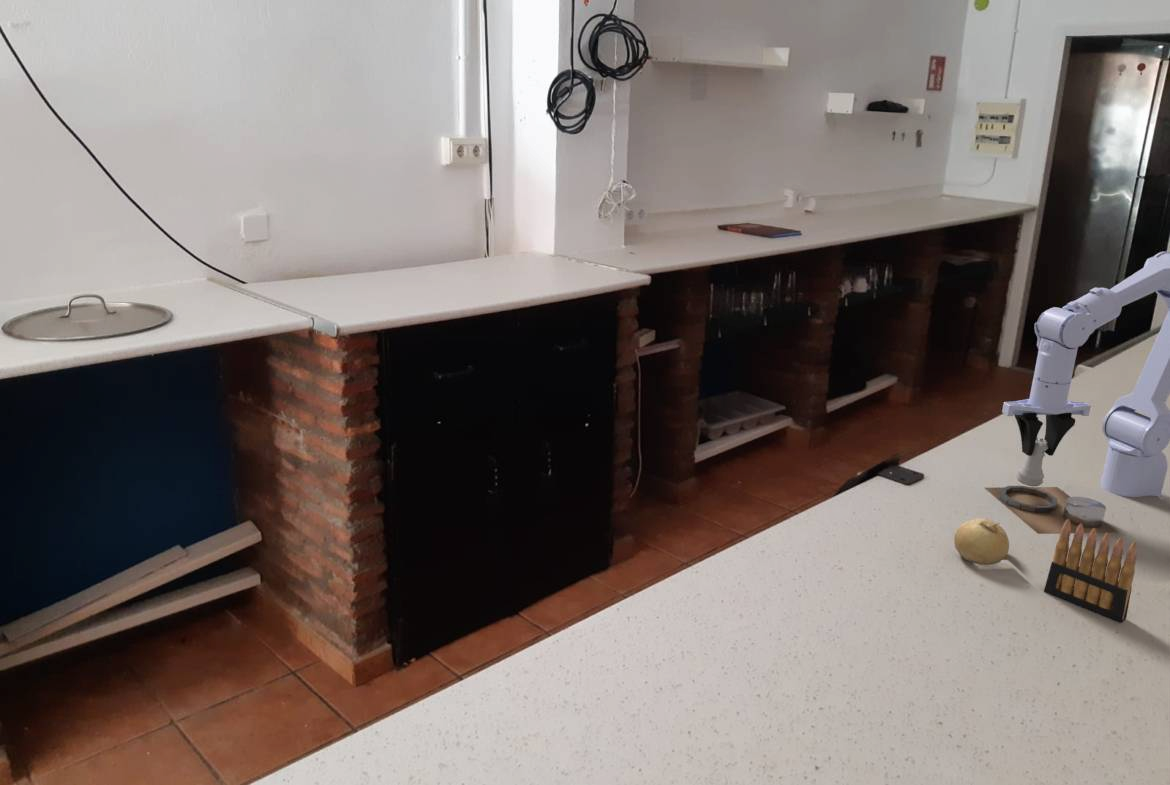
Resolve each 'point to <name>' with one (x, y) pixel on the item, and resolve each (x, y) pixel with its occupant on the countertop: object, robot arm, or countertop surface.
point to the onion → (981, 541)
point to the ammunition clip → (1092, 574)
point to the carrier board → (1045, 521)
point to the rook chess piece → (1033, 465)
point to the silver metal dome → (1084, 512)
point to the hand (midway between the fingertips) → (1037, 453)
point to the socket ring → (1028, 507)
